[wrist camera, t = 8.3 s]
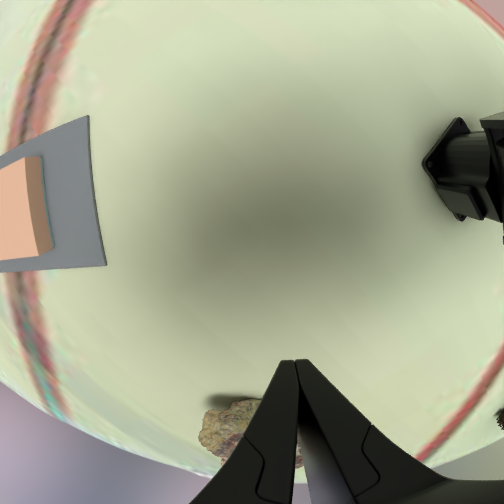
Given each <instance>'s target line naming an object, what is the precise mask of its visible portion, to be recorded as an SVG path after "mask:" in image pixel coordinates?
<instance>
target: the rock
mask: <svg viewBox="0 0 504 504" xmlns="http://www.w3.org/2000/svg"><path fill="white" fill-rule="evenodd" d="M260 401H261V400H256V399H249V400H246V401H240V402H232V404H231V407H230V408H229V409H228V410H224V411H221V410H214V409H212V410H209V411H208V412H206V413H205V415H204V418H203V428H202V430H201V431H200V434H199V437H198V438H199V441H200V442H201V445H202V446H204V447H207V450H208V451H211V452H212V454H214V455H216V456H218V457H220V458H222V460H221V465H222V466H223V465H224V463H225V462H226V461H227V459H228V458H229V456H230V455H231V453H232V452H233V450H234V449H235V447H236V445H237V444H238V442H239V440H240V438H241V437H243V436H242V435H243V433H244V431H245V430H246V428H247V426H248V424H249V422H250V420H251V418H252V417H253V415H254V413H255V411H256V409H257V407H258V405H259V403H260ZM302 466H304V463H303V458H302V453H301V448H300V443H299V438H298V435H297V450H296V463H295V469H296V468H300V467H302Z"/></svg>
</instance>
